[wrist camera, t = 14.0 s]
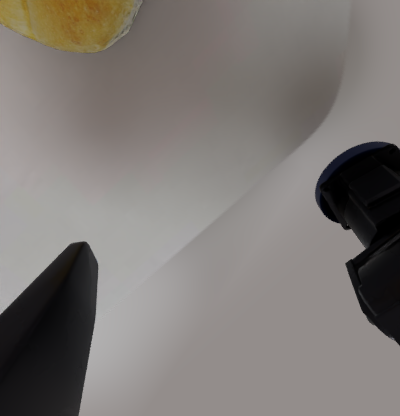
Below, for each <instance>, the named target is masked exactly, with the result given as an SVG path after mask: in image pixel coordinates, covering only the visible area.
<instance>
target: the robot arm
mask: <svg viewBox="0 0 400 416" xmlns="http://www.w3.org/2000/svg"><path fill="white" fill-rule="evenodd" d="M391 149H392V150H391ZM390 150H391V151H390ZM389 151H390V152H389ZM325 187H327V188H326V189H324V188H325ZM319 190H320V192H321V193H322V195H323V196H324V198H325V200H326V201H327V203H328V205H329V206H330V208H331V210H332V211H333V213H334V214H335V216H336V218H337V219H338V221H339V223H340V224H341V226H342V227H343V229H344V230H350V229H352V230H353V232H354V233H355V234H356V236H357V237H358V239H359V240H360V241H361V243H362V244H363V245H364V247H365V248H366V249H365V250H364V251H363V252H361V253H360V254H359V255H358V256H356V257H355V258H354V259H353V260H352V259H351V260H349V261H348V262H347V263H346V267H347V270H348V274H349V276H350V279H351V282H352V285H353V287H354V290H355V293H356V296H357V299H358V301H359V304H360V307H361V309H362V311H363V313H364V314H365V315H366V316H367V319H368V321H369V322H370V323H371V324H372V325H375V326H377V327H378V329H380V331H382V332H383V333H384V334H385V335H386V336H388V337H389V338H391V339H393V340H395V341H396V342H397V343H398V344H399V345H400V151H399V148H398V147H397V146H396V145H395V144H388V145H386V146H384V147H383V148H381V149H379V150H377V151H376V152H374V153H372V154H371V155H369V156H367V157H366V158H364V159H362V160H361V161H359V162H357V163H355V164H354V165H352V166H350V167H349V168H347V169H345V170H344V171H342V172H340V173H338V174H337V175H335V176H333V177H332V178H330V179H328V180H327V181H325V182H323V183H322V184H321V185H320V186H319ZM97 281H98V263H97V260H96V258H95V256H94V254H93V252H92V250H91V248H90V246H89V244H88V243H87V242H84V241H83V242H76V243H72V244H70V245H69V246H68V247H67V248H66V249H65V250H64V251H63V252H62V253H61V254H60V255H59V256H58V257H57V258H56V259H55V260H54V261H53V262H52V263H51V264H50V265H49V266H48V267H47V268H46V269H45V270H44V271H43V272H42V273H41V274H40V275H39V276H38V277H37V278H36V279H35V280H34V281H33V282H32V283H31V284H30V285H29V286H28V287H27V288H26V289H25V290H24V291H23V292H22V293H21V294H20V295H19V296H18V297H17V298H16V299H15V300H14V302H13V303H12V304H11V305H10V306H9V307H8V308H7V309H6V310H5V311H4V312H3V313H2V314H1V315H0V416H78V415H79V410H80V403H81V398H82V392H83V387H84V381H85V375H86V370H87V363H88V358H89V353H90V347H91V341H92V335H93V330H94V323H95V315H96V299H97Z"/></svg>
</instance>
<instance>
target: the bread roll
mask: <svg viewBox="0 0 400 416" xmlns="http://www.w3.org/2000/svg"><path fill="white" fill-rule="evenodd" d="M142 2H143V0H0V23H1V24H2V25H4V26H5V27H7V28H9V29H11V30H13V31H15V32H17V33H19V34H21V35H23V36H25V37H28V38H31V39H33V40H36V41H38V42H40V43H42V44H44V45H47V46H50V47H53V48H55V49H58V50H63V51H70V52H80V53H96V52H99V51H102V50H105V49H107V48H108V47H110V46H111V45H113V44H114V43H115V42H116V41H117V40H119V39H120V38H121V37H123V36H124V35H125V34H127V33H128V32H129V30H130V27H131V25H132V23H133V22H134V19H135V17H136V15H137V13H138V10H139V8H140V6H141V4H142Z"/></svg>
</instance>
